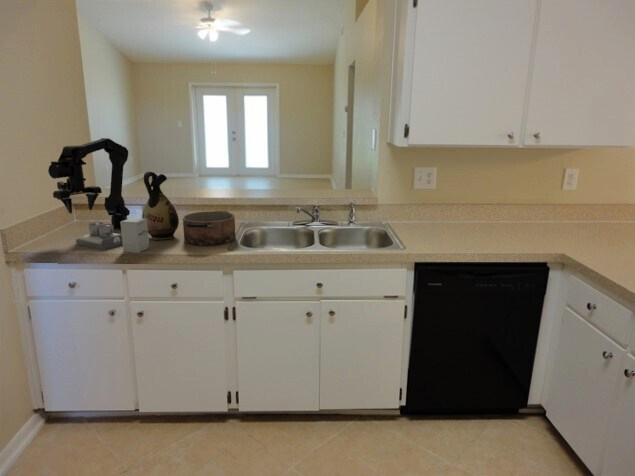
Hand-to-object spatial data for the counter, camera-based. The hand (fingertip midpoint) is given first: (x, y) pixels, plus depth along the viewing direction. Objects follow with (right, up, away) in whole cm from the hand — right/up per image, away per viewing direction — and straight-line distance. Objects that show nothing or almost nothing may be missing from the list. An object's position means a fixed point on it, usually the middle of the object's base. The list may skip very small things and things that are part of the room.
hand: (80, 211), depth 184 cm
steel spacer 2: (+15, -11, -6) cm, 19 cm away
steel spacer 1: (+9, -10, -3) cm, 14 cm away
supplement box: (+30, -17, -13) cm, 37 cm away
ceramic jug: (+33, -12, +5) cm, 36 cm away
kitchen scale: (+13, -14, -4) cm, 19 cm away
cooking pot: (+56, -13, +4) cm, 58 cm away
